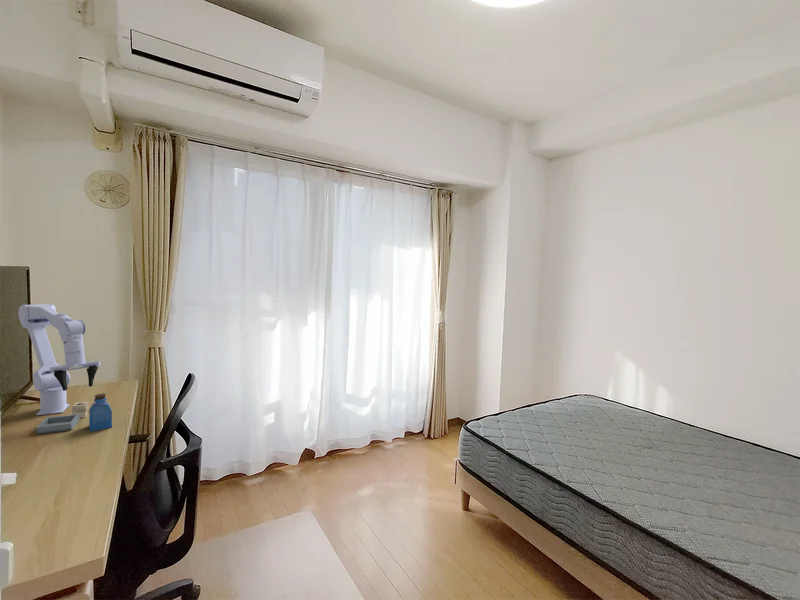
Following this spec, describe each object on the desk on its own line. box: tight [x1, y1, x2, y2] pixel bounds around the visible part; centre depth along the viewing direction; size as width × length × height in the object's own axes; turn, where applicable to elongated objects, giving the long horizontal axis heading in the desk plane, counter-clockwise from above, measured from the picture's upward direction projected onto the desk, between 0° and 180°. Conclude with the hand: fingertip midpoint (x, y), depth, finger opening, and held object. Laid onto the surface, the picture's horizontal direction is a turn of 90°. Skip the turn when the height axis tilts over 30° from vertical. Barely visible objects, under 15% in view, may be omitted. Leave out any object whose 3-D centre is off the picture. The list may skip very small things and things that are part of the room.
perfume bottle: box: [88, 393, 113, 432], centre depth 139 cm, size 6×6×12 cm
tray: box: [36, 414, 80, 435], centre depth 137 cm, size 9×9×2 cm
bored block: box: [71, 401, 89, 419], centre depth 147 cm, size 4×4×5 cm
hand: (78, 388), depth 143 cm, fingers open, 7 cm apart
